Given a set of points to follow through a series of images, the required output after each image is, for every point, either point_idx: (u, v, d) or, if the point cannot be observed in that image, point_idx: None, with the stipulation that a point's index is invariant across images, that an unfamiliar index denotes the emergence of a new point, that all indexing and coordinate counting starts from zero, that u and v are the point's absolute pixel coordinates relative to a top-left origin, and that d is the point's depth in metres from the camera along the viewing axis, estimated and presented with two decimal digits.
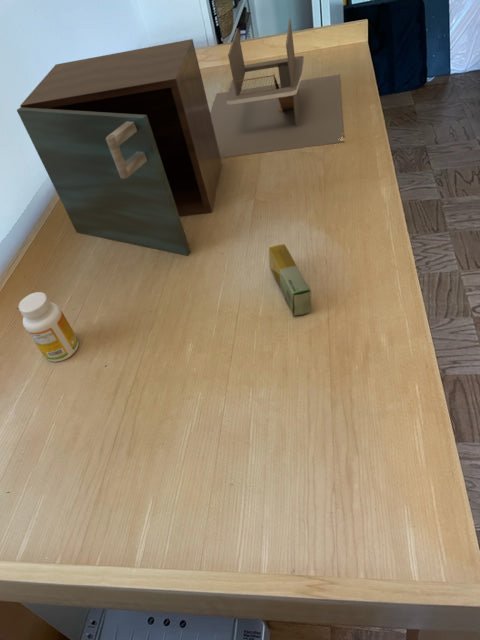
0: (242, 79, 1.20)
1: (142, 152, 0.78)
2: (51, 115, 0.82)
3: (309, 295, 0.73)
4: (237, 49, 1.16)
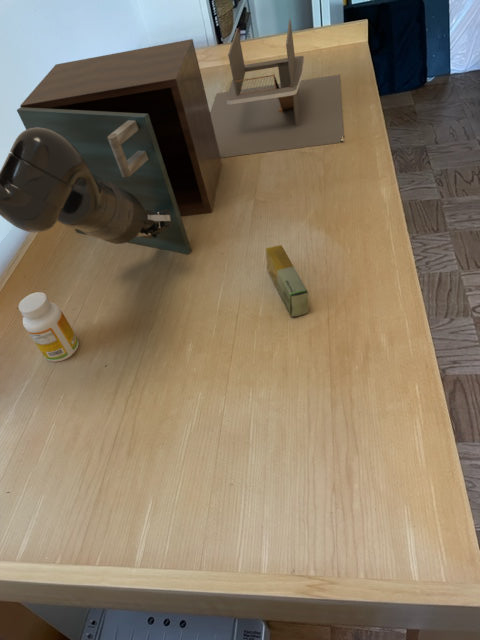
0: (242, 79, 1.20)
1: (143, 151, 0.78)
2: (52, 115, 0.82)
3: (306, 296, 0.73)
4: (237, 49, 1.16)
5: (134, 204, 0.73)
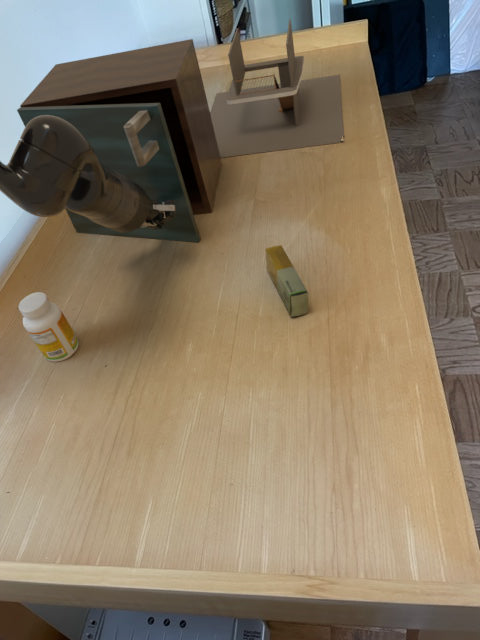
0: (242, 79, 1.20)
1: (155, 140, 0.80)
2: (56, 112, 0.83)
3: (306, 296, 0.73)
4: (237, 49, 1.16)
5: (140, 193, 0.75)
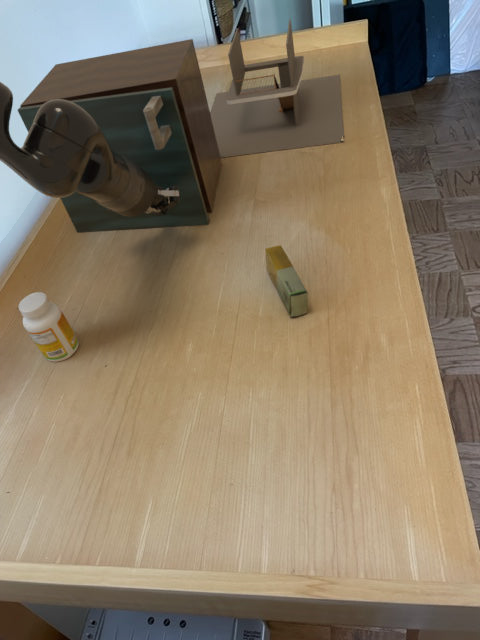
0: (242, 79, 1.20)
1: (167, 125, 0.83)
2: None
3: (305, 296, 0.73)
4: (237, 49, 1.16)
5: (145, 178, 0.77)
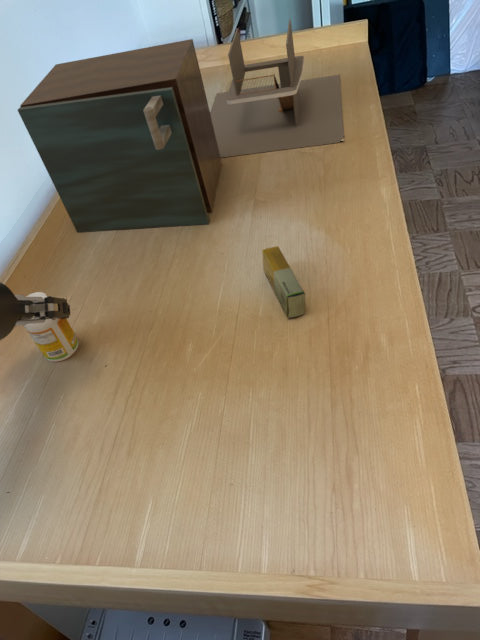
0: (242, 79, 1.20)
1: (167, 125, 0.83)
2: (62, 107, 0.84)
3: (303, 297, 0.73)
4: (237, 49, 1.16)
5: None
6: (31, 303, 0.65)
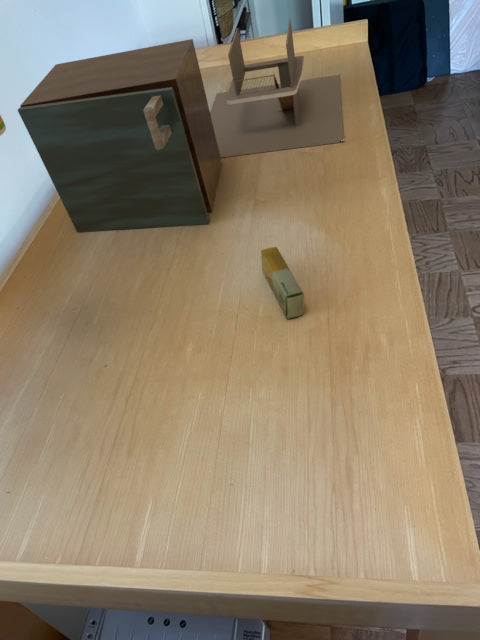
0: (242, 79, 1.20)
1: (167, 125, 0.83)
2: (62, 107, 0.84)
3: (301, 298, 0.73)
4: (237, 49, 1.16)
5: None
6: None
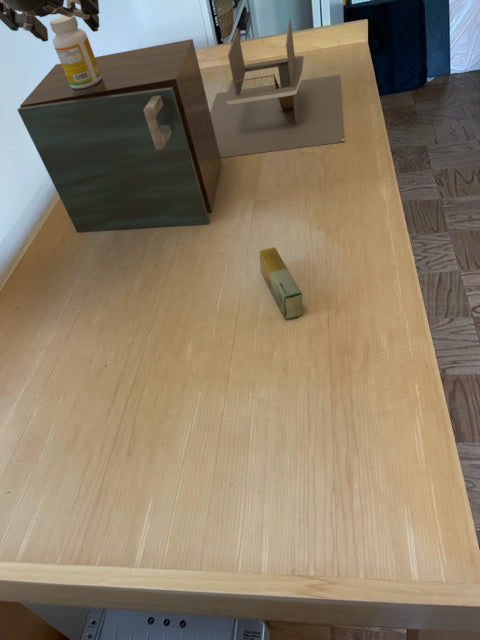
0: (242, 79, 1.20)
1: (167, 125, 0.83)
2: (62, 107, 0.84)
3: (300, 298, 0.73)
4: (237, 49, 1.16)
5: None
6: None
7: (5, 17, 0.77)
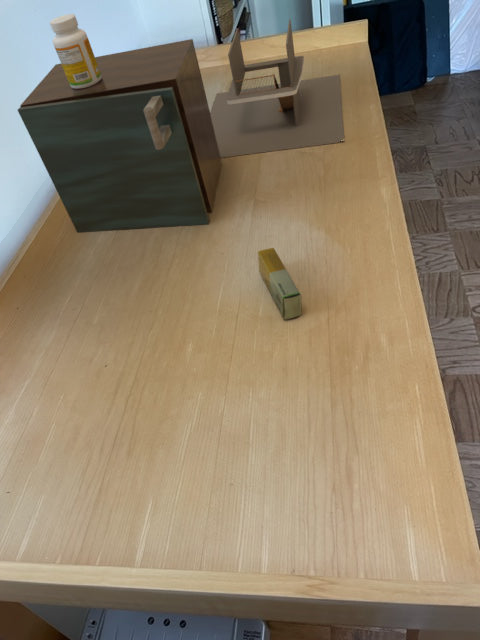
0: (242, 79, 1.20)
1: (167, 125, 0.83)
2: (62, 107, 0.84)
3: (299, 299, 0.73)
4: (237, 49, 1.16)
5: None
6: None
7: None
